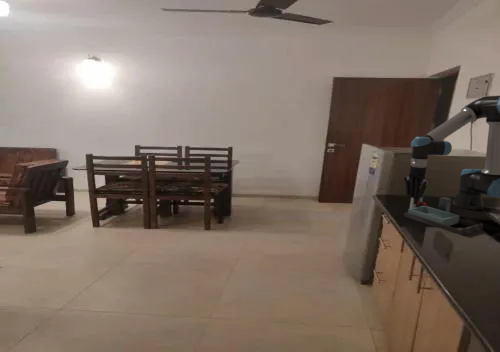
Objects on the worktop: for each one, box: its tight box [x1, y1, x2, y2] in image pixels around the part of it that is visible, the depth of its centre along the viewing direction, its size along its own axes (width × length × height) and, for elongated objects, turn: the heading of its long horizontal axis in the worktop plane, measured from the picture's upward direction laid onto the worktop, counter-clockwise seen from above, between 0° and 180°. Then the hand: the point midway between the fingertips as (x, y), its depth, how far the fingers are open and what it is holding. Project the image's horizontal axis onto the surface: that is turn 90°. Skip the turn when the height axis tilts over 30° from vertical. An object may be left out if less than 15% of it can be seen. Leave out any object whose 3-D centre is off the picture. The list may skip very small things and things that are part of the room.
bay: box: [403, 211, 484, 237], centre depth 155 cm, size 17×29×4 cm, turn 29°
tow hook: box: [416, 195, 428, 207], centre depth 190 cm, size 8×13×9 cm
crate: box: [407, 205, 460, 227], centre depth 159 cm, size 14×18×4 cm
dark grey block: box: [437, 196, 452, 213], centre depth 168 cm, size 4×4×10 cm
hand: (412, 209), depth 168 cm, fingers closed
